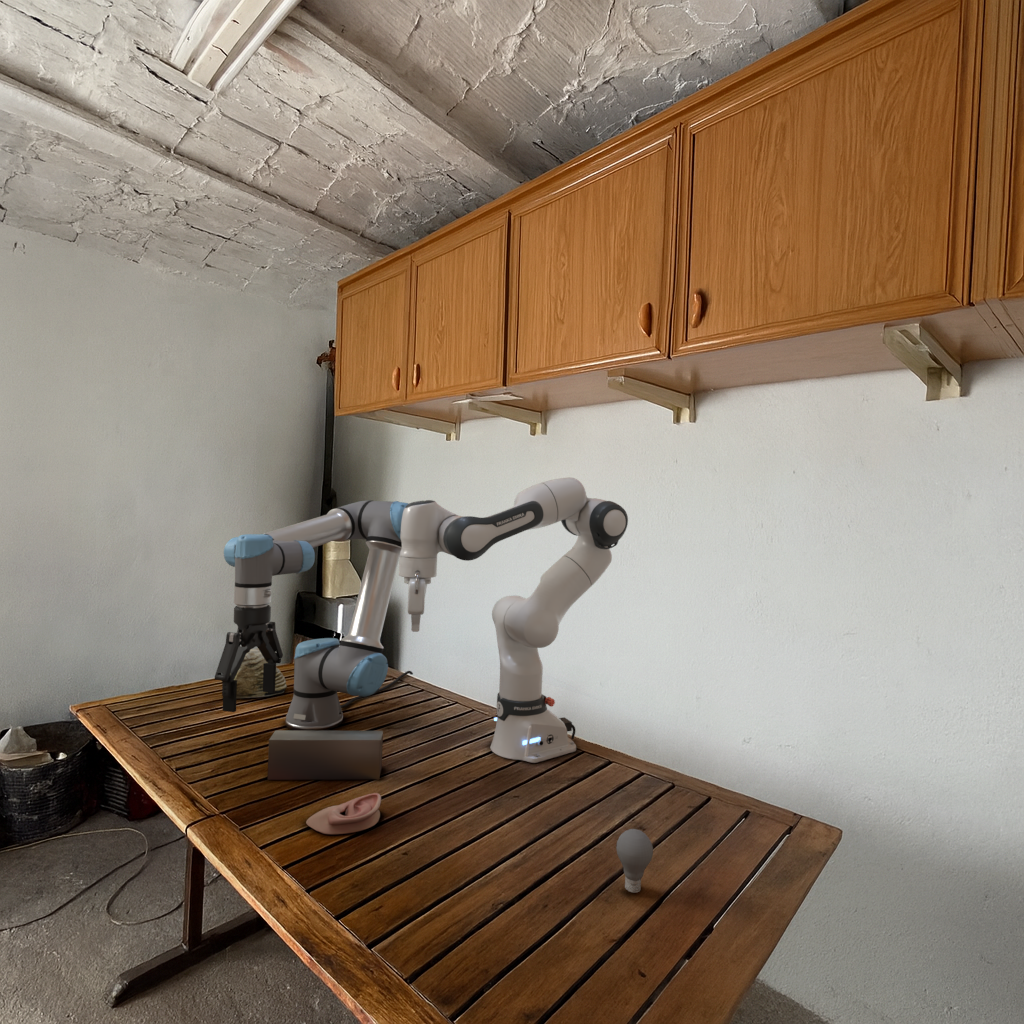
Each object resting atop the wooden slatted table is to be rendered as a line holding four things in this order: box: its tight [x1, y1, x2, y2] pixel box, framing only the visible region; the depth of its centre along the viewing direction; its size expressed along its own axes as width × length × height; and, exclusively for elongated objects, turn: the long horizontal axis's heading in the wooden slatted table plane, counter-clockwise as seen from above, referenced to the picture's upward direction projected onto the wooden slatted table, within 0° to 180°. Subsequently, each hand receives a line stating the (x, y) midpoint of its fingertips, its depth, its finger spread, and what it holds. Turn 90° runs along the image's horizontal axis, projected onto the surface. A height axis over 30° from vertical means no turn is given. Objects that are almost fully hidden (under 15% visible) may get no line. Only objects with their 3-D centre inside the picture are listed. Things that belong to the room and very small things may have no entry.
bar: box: [267, 729, 384, 781], centre depth 145 cm, size 24×6×9 cm, turn 96°
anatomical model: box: [305, 792, 382, 835], centre depth 124 cm, size 13×4×12 cm
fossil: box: [234, 647, 288, 699], centre depth 198 cm, size 9×18×15 cm, turn 132°
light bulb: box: [615, 828, 654, 894], centre depth 106 cm, size 6×6×10 cm
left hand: (250, 701), depth 139 cm, fingers open, 13 cm apart
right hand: (415, 626), depth 150 cm, fingers open, 8 cm apart
